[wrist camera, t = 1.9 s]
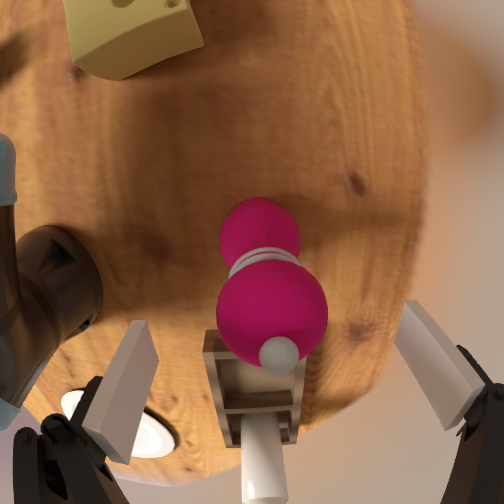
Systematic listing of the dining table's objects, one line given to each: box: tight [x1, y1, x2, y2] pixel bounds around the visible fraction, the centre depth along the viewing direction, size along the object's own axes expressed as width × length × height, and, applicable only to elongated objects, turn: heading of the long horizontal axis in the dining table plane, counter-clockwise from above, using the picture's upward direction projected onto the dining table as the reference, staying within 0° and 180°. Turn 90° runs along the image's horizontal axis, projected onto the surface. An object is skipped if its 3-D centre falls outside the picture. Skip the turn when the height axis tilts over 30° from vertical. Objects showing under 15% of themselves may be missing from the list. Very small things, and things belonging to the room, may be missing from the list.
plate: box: [61, 390, 175, 458], centre depth 44 cm, size 25×25×2 cm
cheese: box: [63, 0, 204, 81], centre depth 16 cm, size 10×11×10 cm
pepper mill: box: [216, 198, 328, 375], centre depth 20 cm, size 7×7×20 cm
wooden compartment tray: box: [203, 330, 307, 448], centre depth 37 cm, size 24×12×4 cm, turn 3°
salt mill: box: [241, 411, 288, 504], centre depth 31 cm, size 6×6×20 cm
